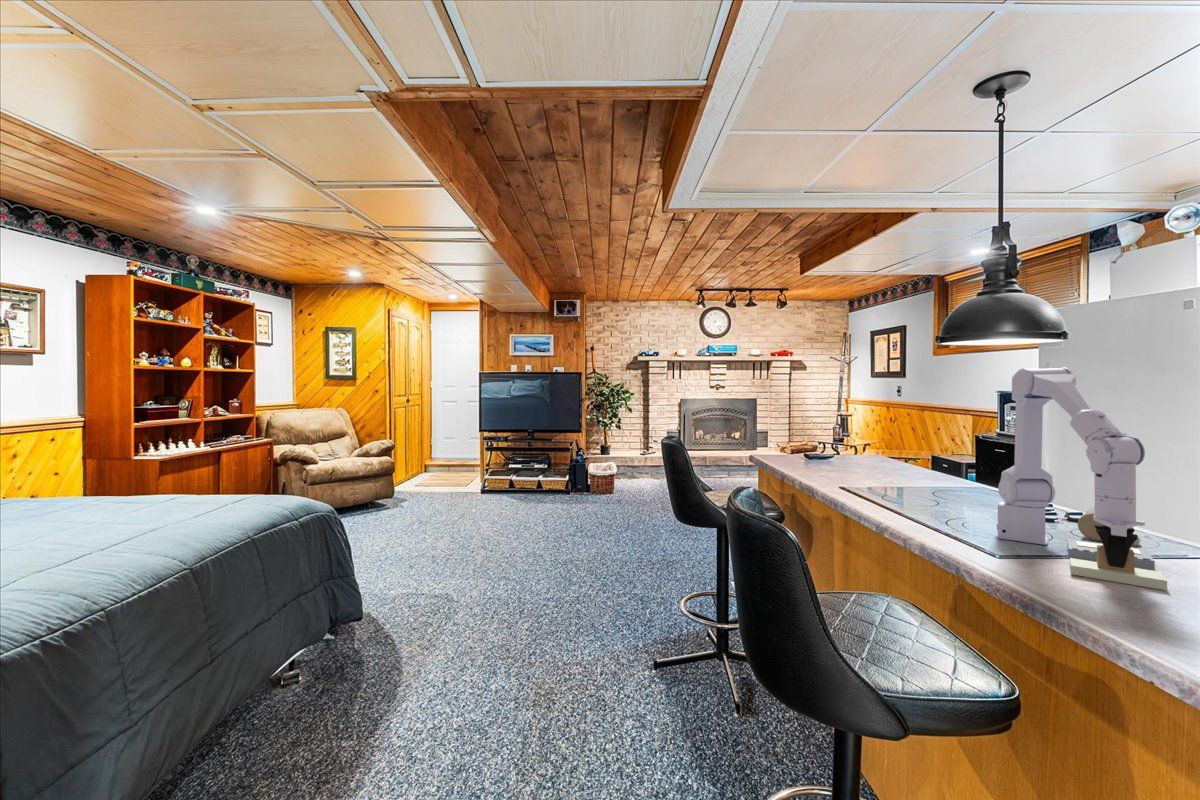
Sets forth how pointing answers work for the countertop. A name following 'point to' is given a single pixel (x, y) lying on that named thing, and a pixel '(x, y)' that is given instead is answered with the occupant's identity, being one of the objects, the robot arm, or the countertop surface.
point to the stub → (1118, 571)
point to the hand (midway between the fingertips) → (1115, 564)
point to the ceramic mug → (1092, 527)
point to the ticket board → (1089, 549)
